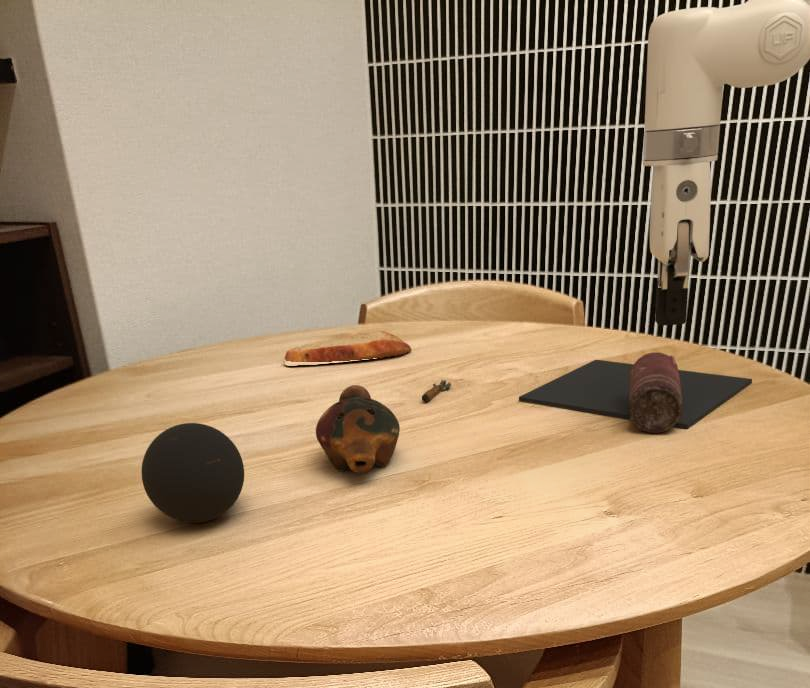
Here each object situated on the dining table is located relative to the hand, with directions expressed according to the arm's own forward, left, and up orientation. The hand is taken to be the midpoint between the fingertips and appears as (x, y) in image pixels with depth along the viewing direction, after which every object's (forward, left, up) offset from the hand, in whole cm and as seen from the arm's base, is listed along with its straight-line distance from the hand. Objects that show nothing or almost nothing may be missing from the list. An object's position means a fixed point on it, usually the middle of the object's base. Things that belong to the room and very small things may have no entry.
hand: (670, 323), depth 94 cm
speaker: (+28, +48, -13) cm, 57 cm away
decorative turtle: (+24, +28, -13) cm, 39 cm away
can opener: (+33, +2, -13) cm, 35 cm away
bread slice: (+60, -8, -13) cm, 62 cm away
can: (-1, +3, -10) cm, 10 cm away
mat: (+9, -12, -13) cm, 19 cm away
